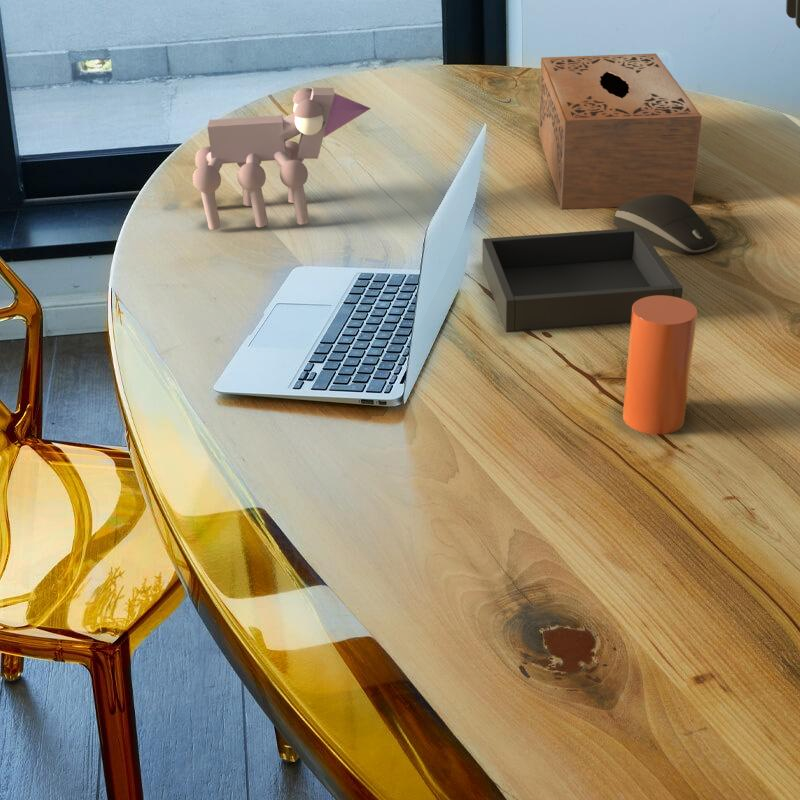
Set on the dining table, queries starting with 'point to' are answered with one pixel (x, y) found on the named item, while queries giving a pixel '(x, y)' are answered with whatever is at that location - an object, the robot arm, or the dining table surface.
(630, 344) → the canister
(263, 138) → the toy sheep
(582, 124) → the tissue box cover
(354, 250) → the dining table surface
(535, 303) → the tray
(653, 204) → the computer mouse
